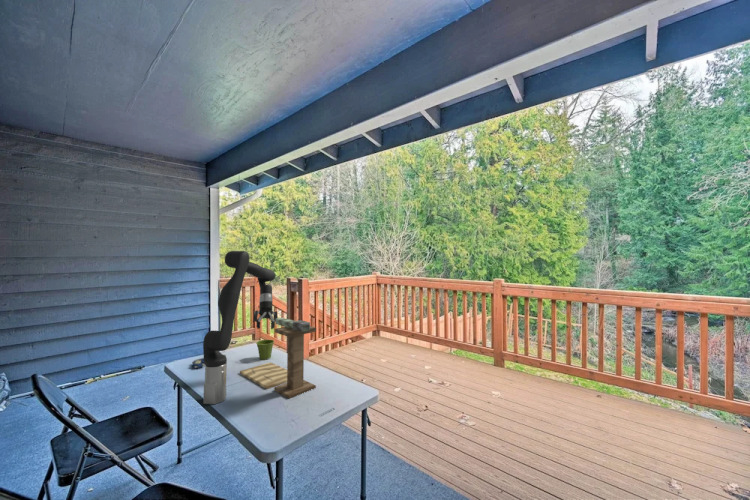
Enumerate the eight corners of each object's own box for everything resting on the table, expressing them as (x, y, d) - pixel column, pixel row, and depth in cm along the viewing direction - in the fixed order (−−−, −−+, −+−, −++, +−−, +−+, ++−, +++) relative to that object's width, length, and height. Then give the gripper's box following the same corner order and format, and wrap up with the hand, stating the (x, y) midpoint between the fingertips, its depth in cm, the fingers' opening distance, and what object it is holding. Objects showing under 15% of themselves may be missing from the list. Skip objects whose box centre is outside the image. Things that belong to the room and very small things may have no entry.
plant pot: (256, 356, 210) (256, 340, 210) (274, 354, 213) (274, 338, 213) (255, 362, 198) (255, 344, 199) (273, 360, 202) (274, 343, 202)
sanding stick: (309, 330, 154) (310, 322, 154) (301, 331, 150) (301, 323, 150) (282, 322, 171) (282, 315, 172) (274, 324, 168) (274, 316, 168)
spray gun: (230, 363, 196) (223, 358, 207) (230, 356, 196) (223, 352, 207) (194, 372, 182) (188, 366, 193) (194, 365, 182) (188, 359, 193)
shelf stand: (315, 388, 159) (316, 327, 160) (289, 398, 147) (289, 333, 148) (300, 381, 168) (300, 323, 169) (274, 390, 156) (275, 328, 157)
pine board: (299, 378, 172) (299, 375, 172) (266, 389, 157) (266, 386, 157) (270, 364, 193) (270, 362, 194) (239, 373, 179) (239, 370, 179)
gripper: (257, 299, 177) (256, 327, 171) (279, 301, 187) (279, 327, 181) (251, 302, 181) (251, 329, 176) (273, 303, 191) (273, 329, 186)
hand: (265, 328), depth 178 cm, fingers open, 8 cm apart
